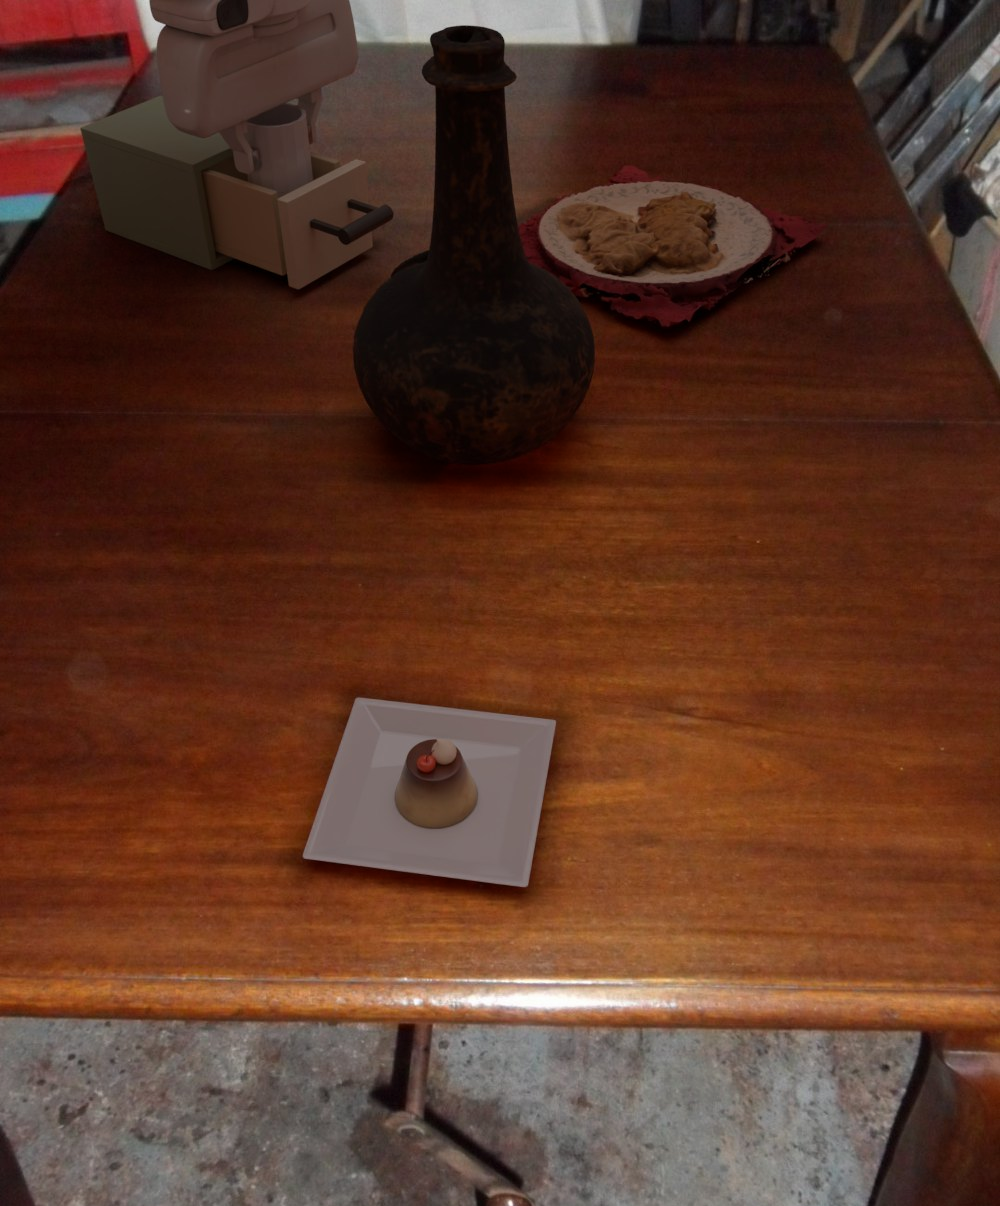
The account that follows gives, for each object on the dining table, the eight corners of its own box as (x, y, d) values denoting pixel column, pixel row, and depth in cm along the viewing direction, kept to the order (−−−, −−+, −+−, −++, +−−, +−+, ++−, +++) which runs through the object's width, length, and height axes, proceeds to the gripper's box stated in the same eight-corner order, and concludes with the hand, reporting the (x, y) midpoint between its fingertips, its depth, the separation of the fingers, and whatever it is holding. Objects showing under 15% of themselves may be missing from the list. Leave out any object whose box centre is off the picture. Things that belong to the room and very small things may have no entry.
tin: (236, 188, 106) (224, 117, 102) (279, 167, 109) (270, 97, 105) (283, 204, 104) (274, 132, 99) (326, 182, 107) (319, 111, 103)
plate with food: (824, 244, 114) (832, 208, 112) (669, 339, 101) (674, 300, 98) (627, 180, 125) (629, 146, 123) (462, 257, 112) (462, 221, 109)
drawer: (412, 260, 110) (407, 174, 104) (338, 304, 104) (329, 216, 98) (267, 211, 117) (255, 128, 111) (191, 250, 111) (174, 164, 106)
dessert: (304, 870, 63) (292, 813, 60) (357, 709, 71) (350, 651, 68) (527, 899, 62) (528, 843, 58) (555, 732, 70) (558, 674, 67)
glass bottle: (508, 349, 100) (509, -30, 80) (638, 449, 90) (677, 44, 70) (320, 412, 94) (269, 16, 73) (437, 528, 83) (415, 106, 63)
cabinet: (296, 226, 117) (283, 123, 110) (212, 270, 110) (192, 164, 103) (191, 189, 123) (172, 90, 116) (105, 230, 116) (79, 127, 109)
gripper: (311, -58, 102) (327, 113, 112) (131, 2, 90) (168, 186, 100) (368, -45, 99) (379, 128, 109) (190, 18, 88) (222, 205, 98)
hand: (277, 157), depth 105 cm, fingers closed on tin, 6 cm apart
